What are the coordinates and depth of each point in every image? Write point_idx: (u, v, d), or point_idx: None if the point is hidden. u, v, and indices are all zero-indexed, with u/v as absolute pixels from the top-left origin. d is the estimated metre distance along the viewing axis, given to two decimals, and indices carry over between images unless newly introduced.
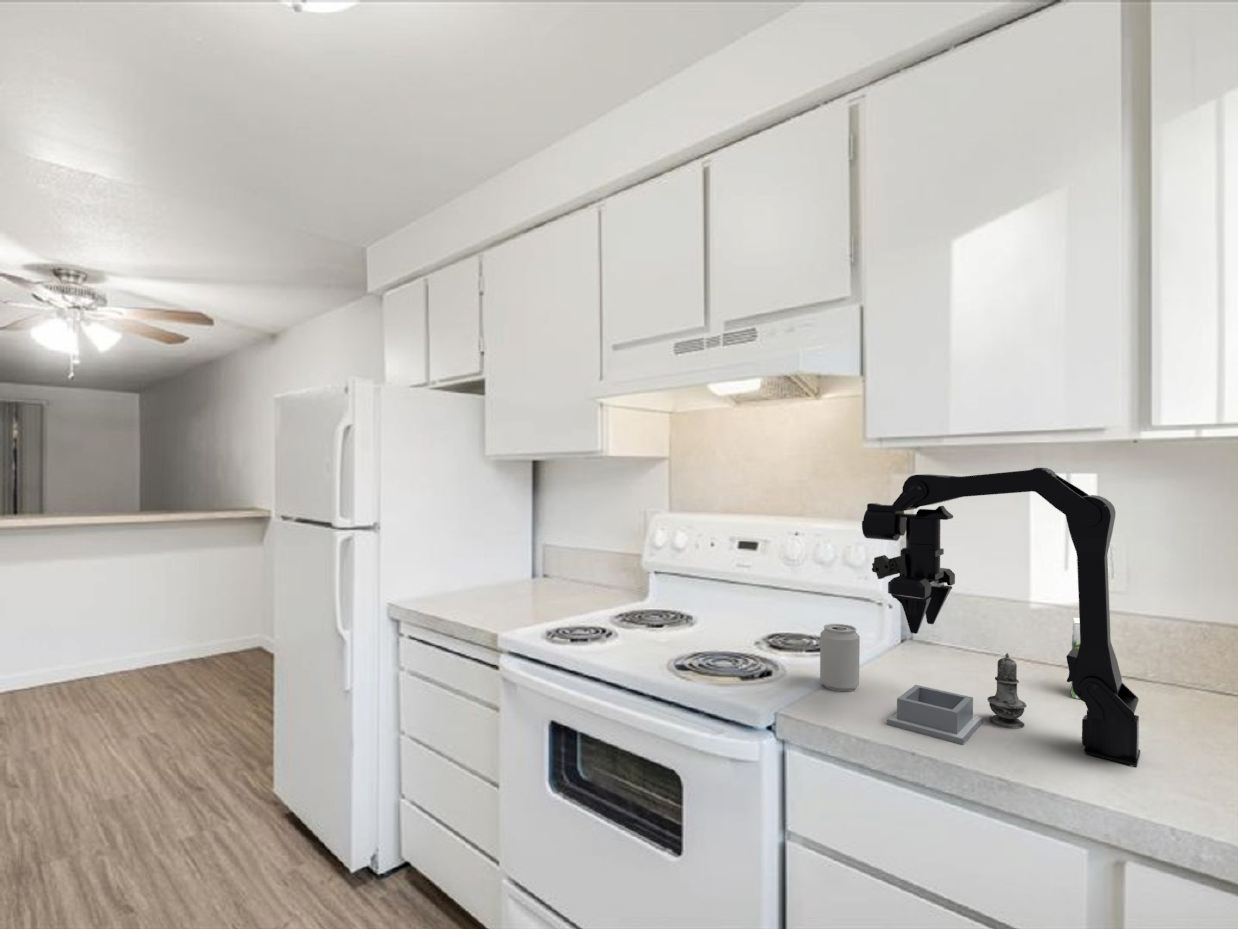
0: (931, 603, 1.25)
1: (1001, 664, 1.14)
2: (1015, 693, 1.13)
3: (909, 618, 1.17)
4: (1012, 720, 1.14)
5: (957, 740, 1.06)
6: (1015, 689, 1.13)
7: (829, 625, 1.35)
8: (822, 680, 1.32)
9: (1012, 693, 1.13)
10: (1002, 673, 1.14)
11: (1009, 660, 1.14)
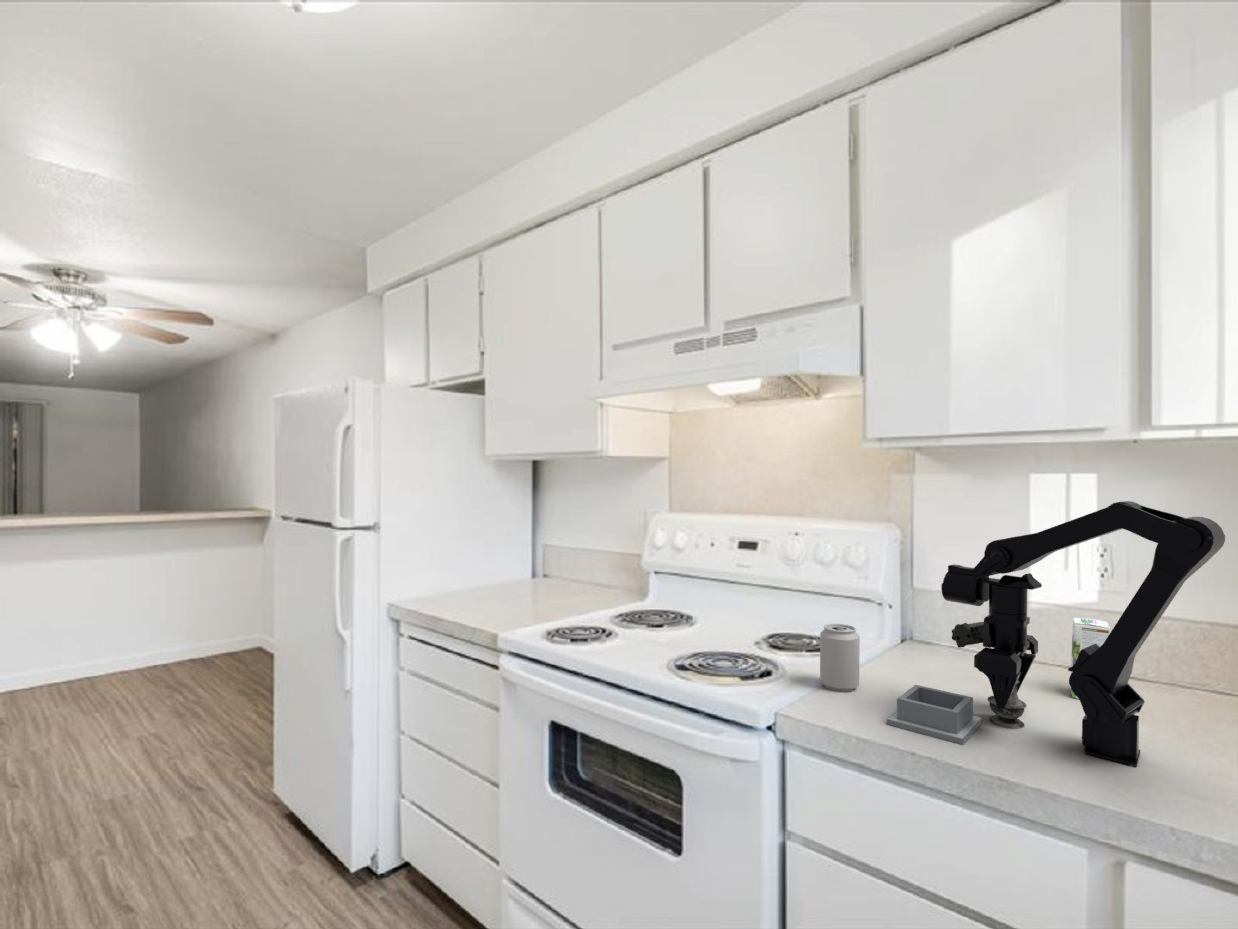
0: None
1: None
2: (1015, 693, 1.13)
3: (996, 693, 1.11)
4: (1012, 720, 1.14)
5: (957, 740, 1.06)
6: (1015, 689, 1.13)
7: (829, 625, 1.35)
8: (822, 680, 1.32)
9: (1012, 693, 1.13)
10: None
11: None
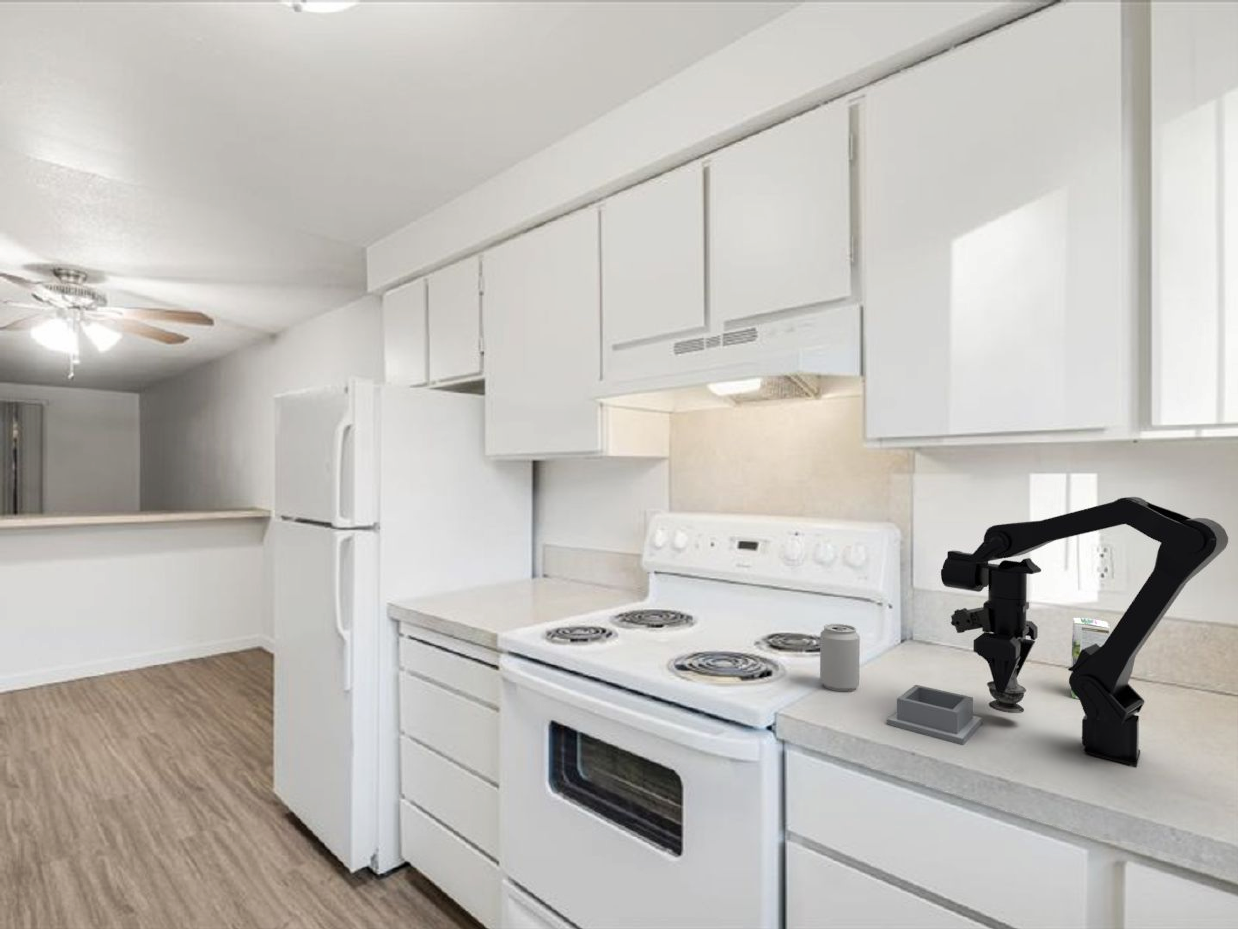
0: None
1: None
2: (1015, 678, 1.14)
3: (996, 677, 1.11)
4: (1012, 705, 1.14)
5: (957, 740, 1.06)
6: (1015, 674, 1.14)
7: (829, 625, 1.35)
8: (822, 680, 1.32)
9: (1012, 678, 1.13)
10: None
11: None
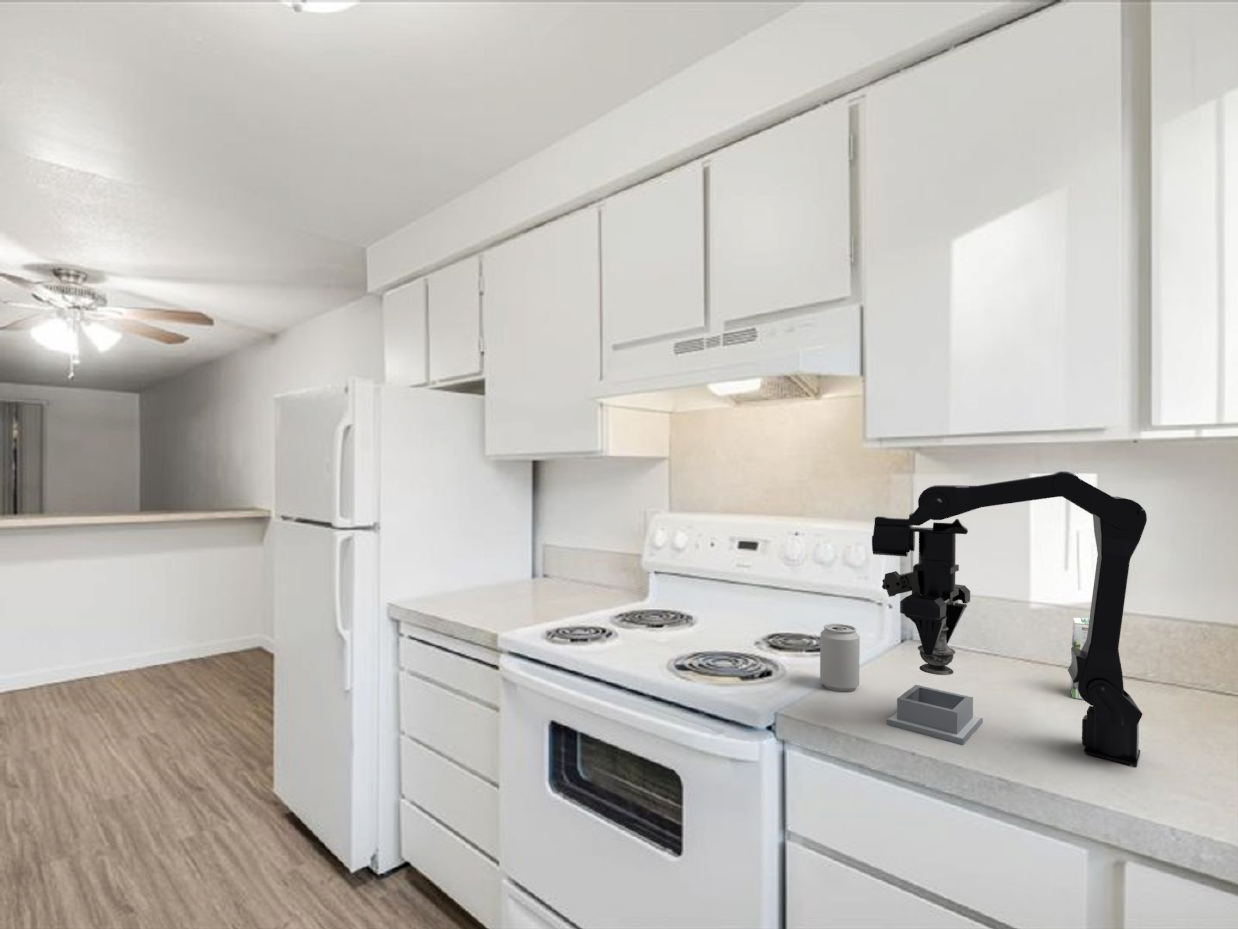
0: None
1: None
2: (945, 640, 1.13)
3: (923, 639, 1.10)
4: (942, 667, 1.13)
5: (957, 740, 1.06)
6: (945, 636, 1.13)
7: (829, 625, 1.35)
8: (822, 680, 1.32)
9: (942, 640, 1.12)
10: None
11: None
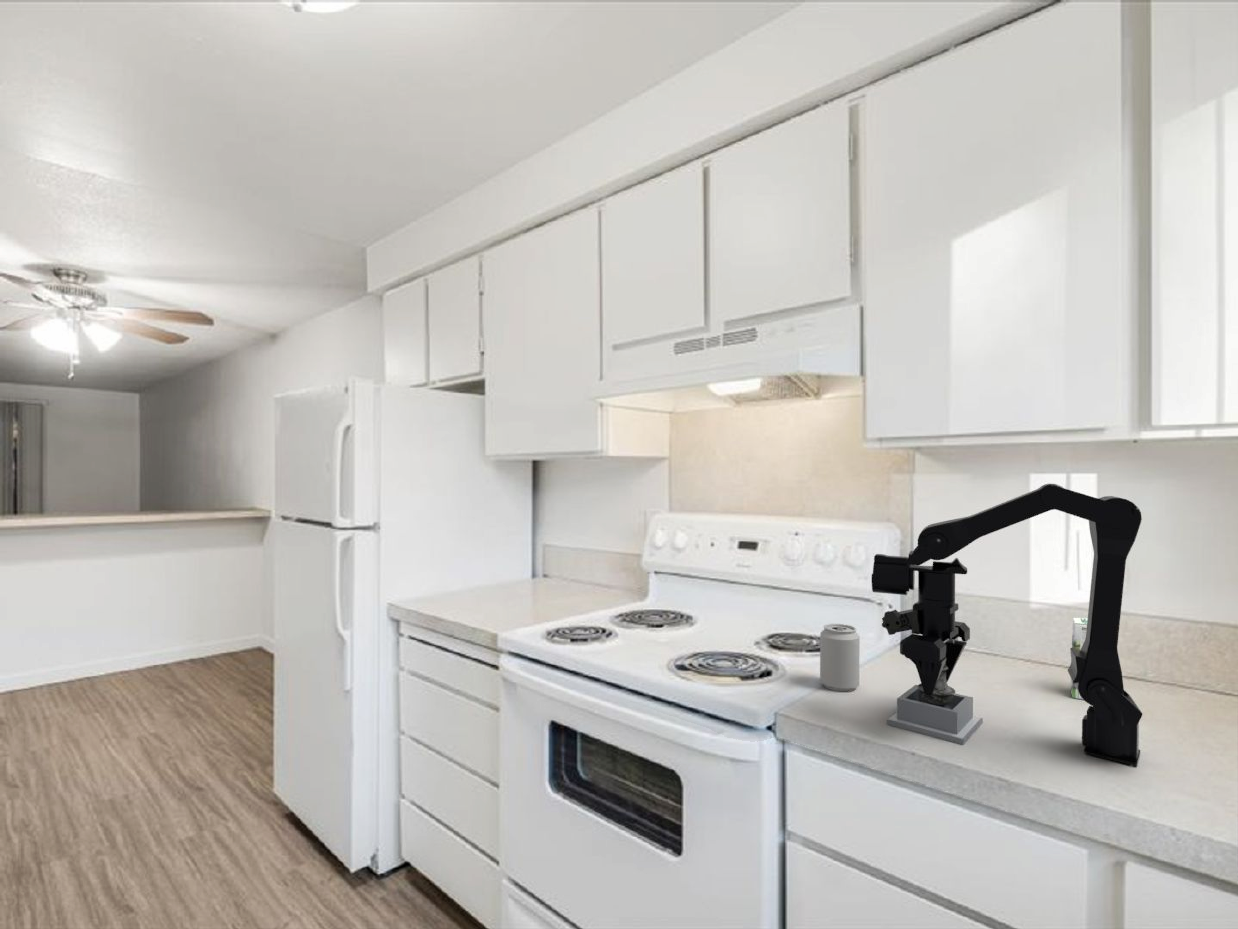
0: None
1: None
2: (944, 679, 1.13)
3: (923, 679, 1.10)
4: None
5: (957, 740, 1.06)
6: (944, 675, 1.13)
7: (829, 625, 1.35)
8: (822, 680, 1.32)
9: (941, 679, 1.12)
10: None
11: None
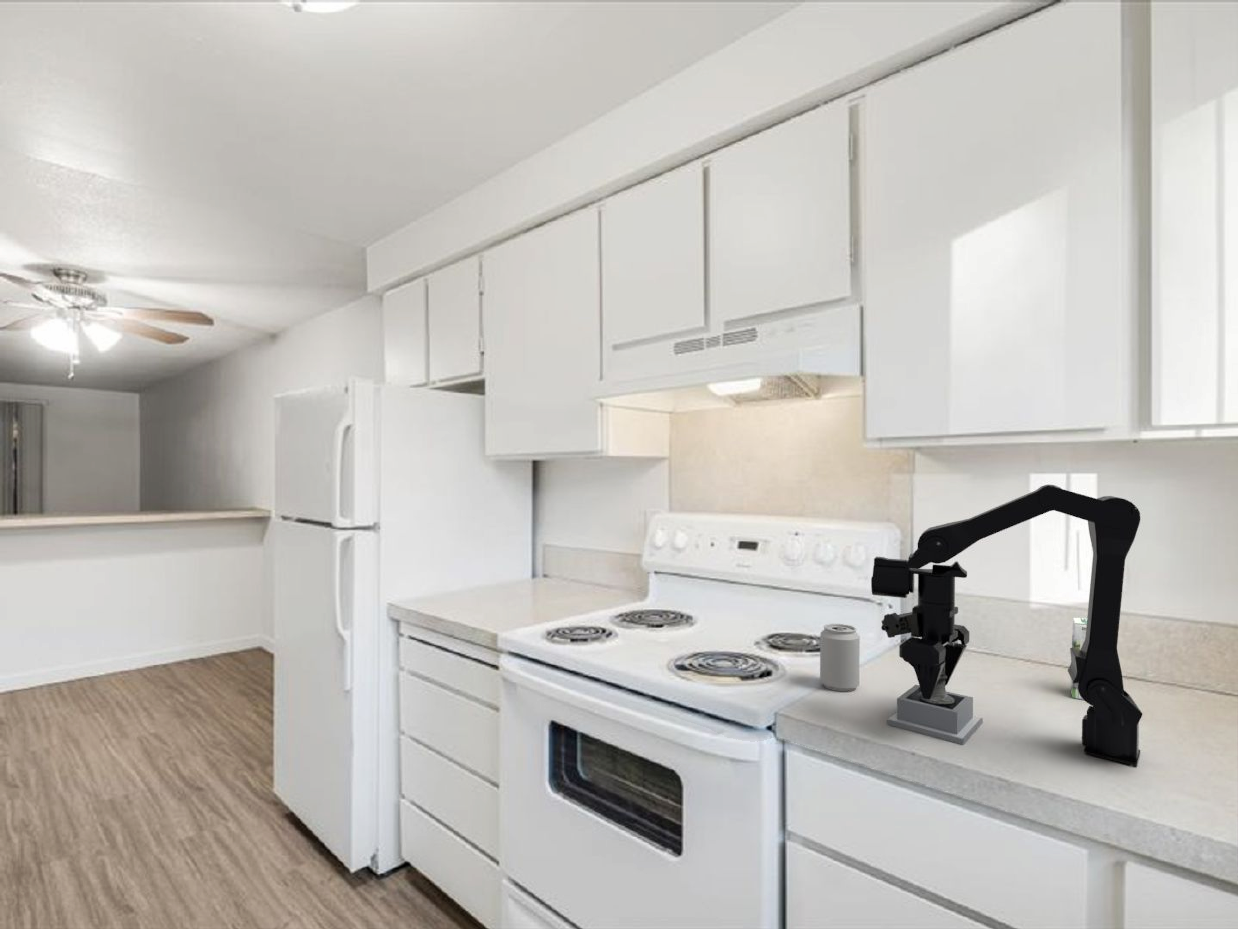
0: (944, 663, 1.17)
1: None
2: None
3: (922, 683, 1.10)
4: None
5: (957, 740, 1.06)
6: None
7: (829, 625, 1.35)
8: (822, 680, 1.32)
9: None
10: None
11: None
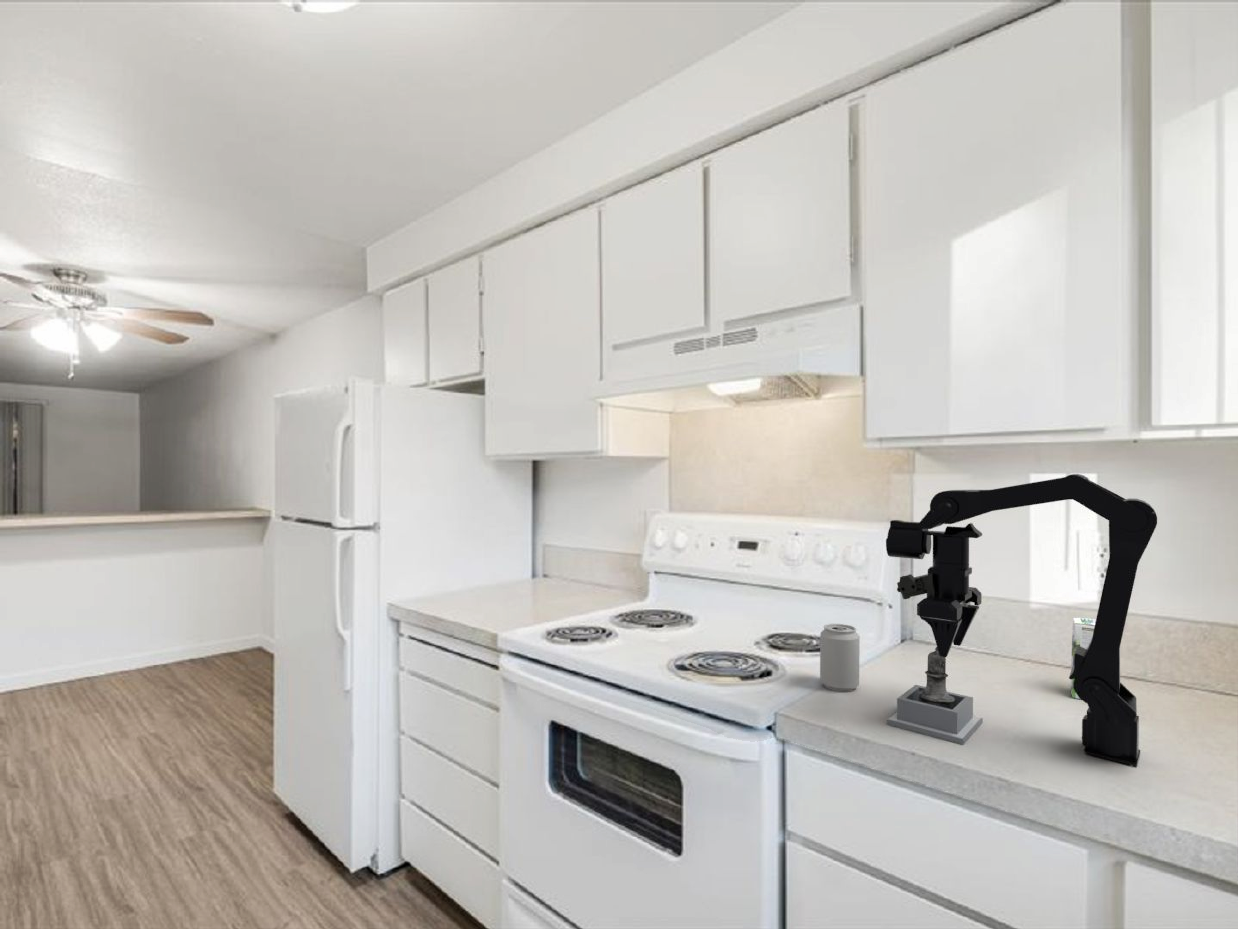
0: None
1: None
2: (934, 686, 1.13)
3: (938, 641, 1.13)
4: None
5: (957, 740, 1.06)
6: (934, 682, 1.13)
7: (829, 625, 1.35)
8: (822, 680, 1.32)
9: (930, 685, 1.14)
10: None
11: (934, 653, 1.14)
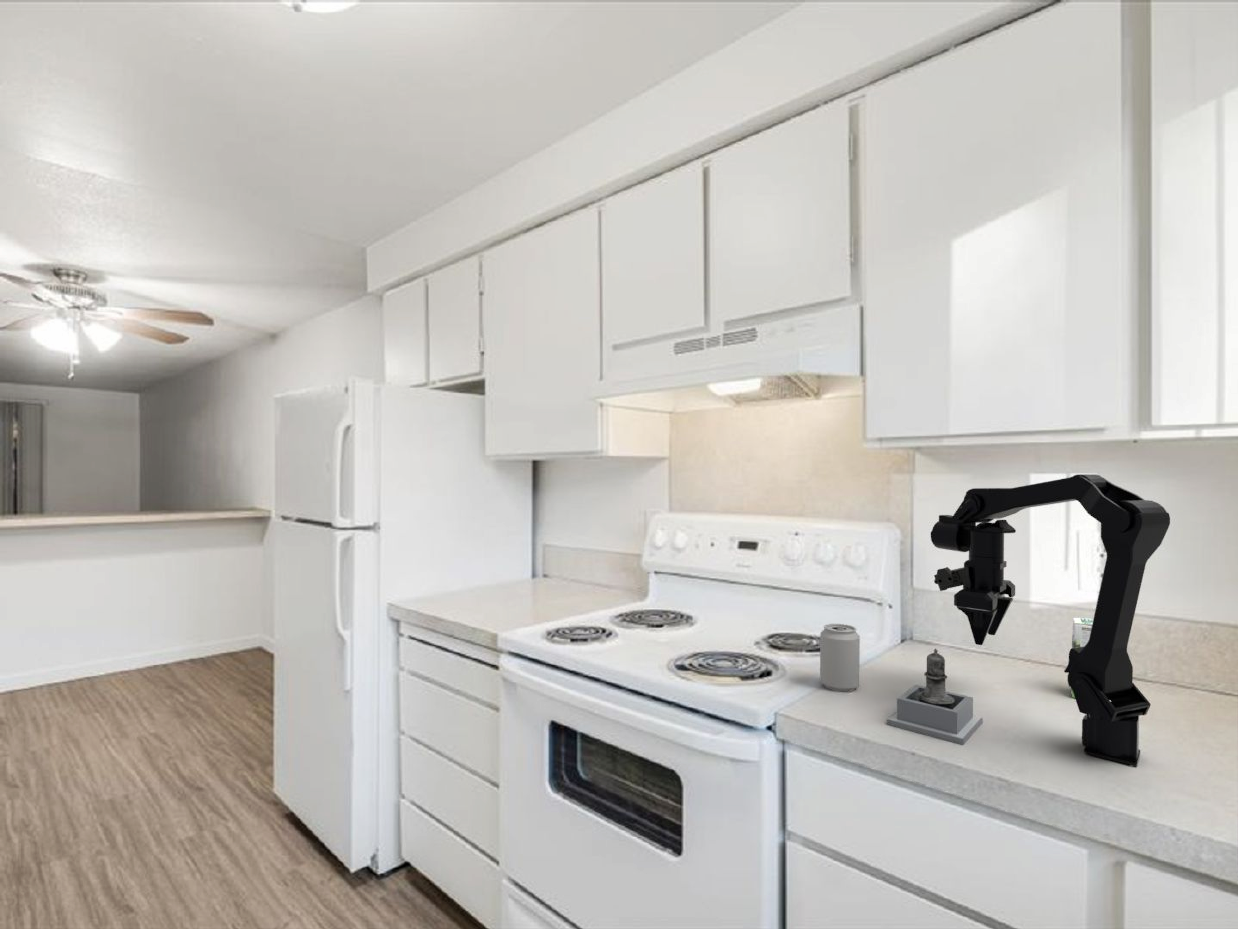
0: None
1: None
2: (933, 688, 1.13)
3: (974, 630, 1.19)
4: None
5: (957, 740, 1.06)
6: (933, 684, 1.13)
7: (829, 625, 1.35)
8: (822, 680, 1.32)
9: (929, 687, 1.13)
10: None
11: (933, 655, 1.14)
